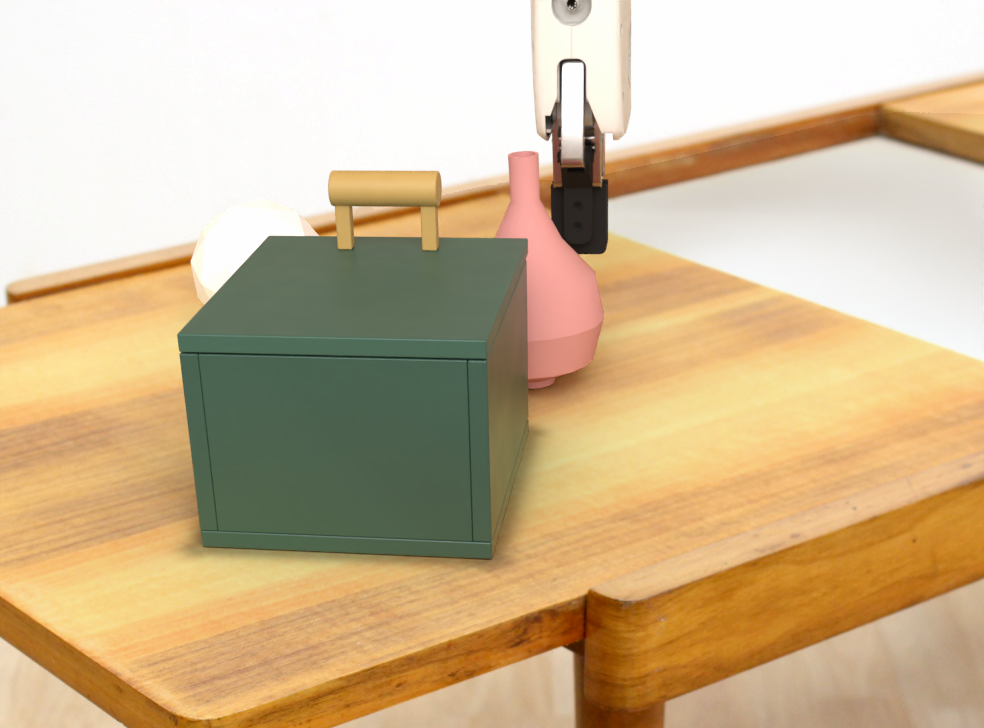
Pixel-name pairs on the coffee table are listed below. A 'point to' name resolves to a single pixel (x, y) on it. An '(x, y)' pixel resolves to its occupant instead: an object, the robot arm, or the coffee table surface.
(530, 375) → the pink vase
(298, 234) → the geometric ball
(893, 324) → the coffee table surface
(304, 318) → the bread bin lid
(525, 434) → the bin
